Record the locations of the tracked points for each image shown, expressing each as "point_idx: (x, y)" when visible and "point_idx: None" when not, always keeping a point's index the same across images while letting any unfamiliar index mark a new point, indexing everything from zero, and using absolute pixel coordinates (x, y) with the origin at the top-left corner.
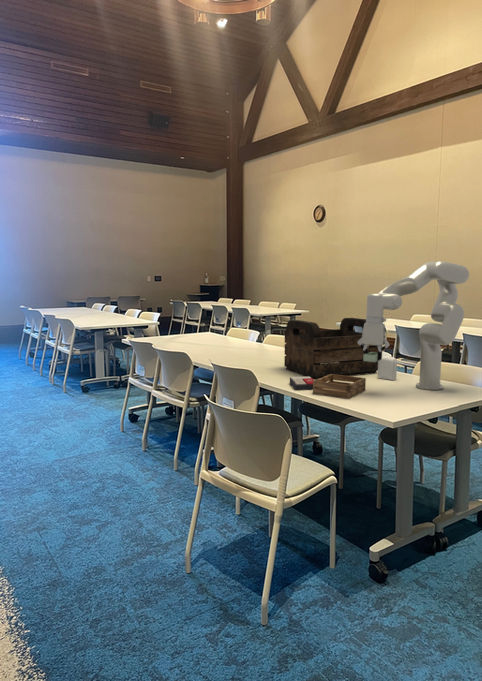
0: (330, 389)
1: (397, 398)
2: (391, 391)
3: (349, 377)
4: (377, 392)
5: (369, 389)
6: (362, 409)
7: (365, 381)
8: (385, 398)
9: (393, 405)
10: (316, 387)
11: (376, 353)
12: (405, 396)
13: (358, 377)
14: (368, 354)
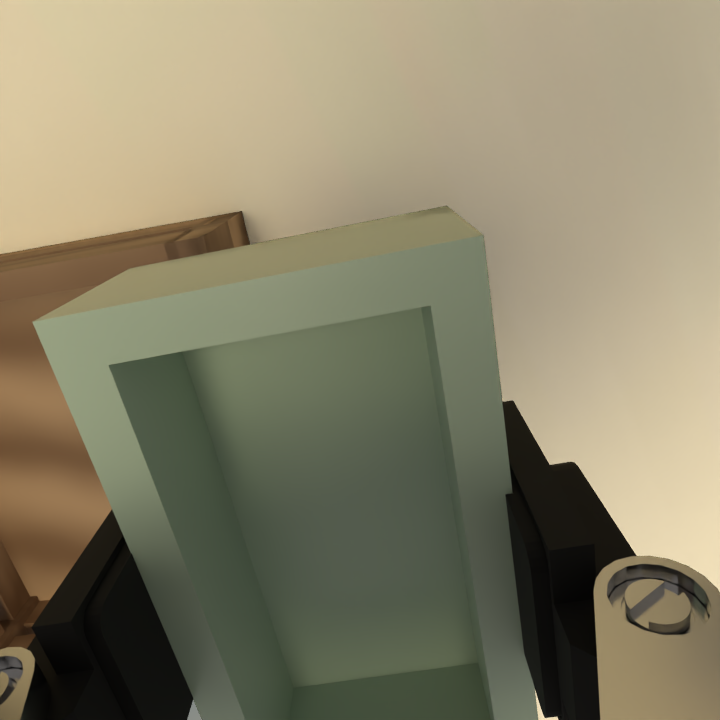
0: (51, 484)
1: (651, 306)
2: (488, 41)
3: (7, 298)
4: (387, 209)
5: (246, 134)
6: (540, 706)
7: (217, 233)
8: (556, 378)
9: (688, 525)
10: (20, 630)
11: (293, 322)
12: (702, 170)
13: (113, 270)
14: (218, 608)
